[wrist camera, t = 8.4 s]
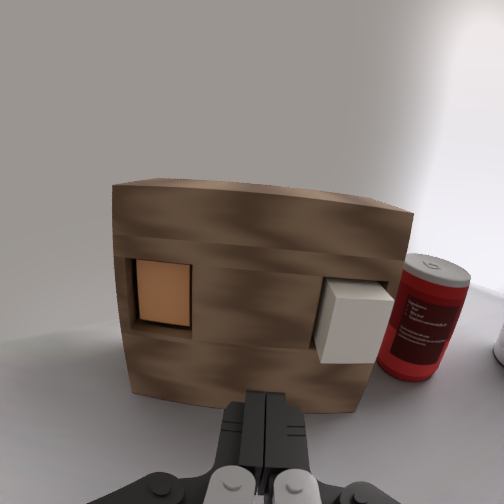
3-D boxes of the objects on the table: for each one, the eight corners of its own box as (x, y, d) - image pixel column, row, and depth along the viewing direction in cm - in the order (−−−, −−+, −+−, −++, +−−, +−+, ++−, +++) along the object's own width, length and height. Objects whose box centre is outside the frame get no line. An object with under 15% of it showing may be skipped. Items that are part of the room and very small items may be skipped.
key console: (335, 357, 28) (369, 198, 23) (354, 412, 20) (414, 213, 15) (159, 341, 28) (156, 178, 23) (132, 392, 20) (112, 185, 16)
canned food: (410, 338, 31) (435, 253, 28) (448, 374, 24) (485, 279, 21) (360, 346, 30) (384, 251, 27) (397, 391, 22) (438, 282, 19)
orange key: (202, 295, 24) (204, 244, 23) (189, 326, 19) (189, 265, 18) (161, 290, 24) (160, 240, 23) (140, 318, 19) (136, 259, 18)
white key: (354, 324, 21) (367, 270, 20) (374, 363, 16) (394, 300, 15) (309, 322, 21) (319, 266, 20) (320, 363, 16) (336, 297, 15)
